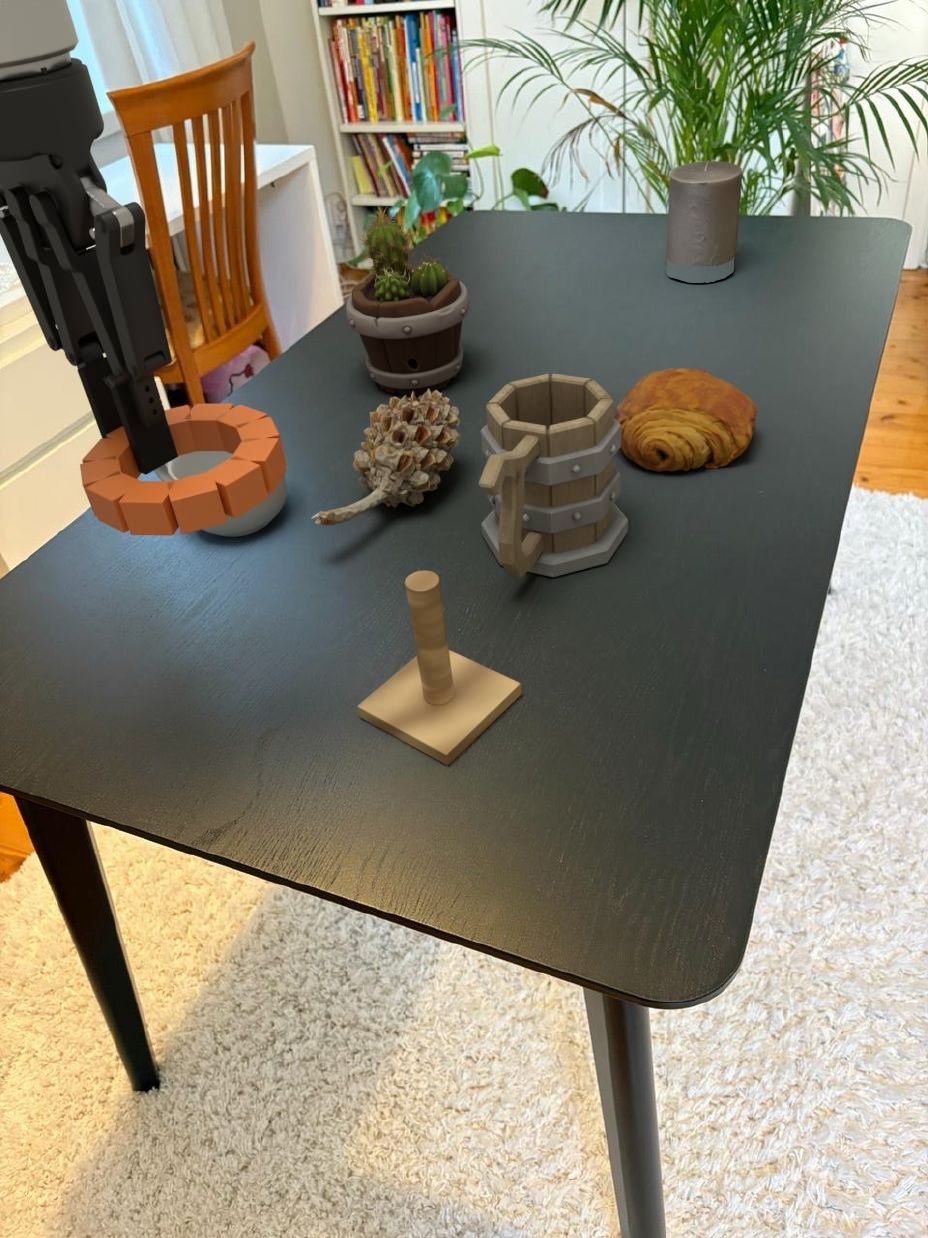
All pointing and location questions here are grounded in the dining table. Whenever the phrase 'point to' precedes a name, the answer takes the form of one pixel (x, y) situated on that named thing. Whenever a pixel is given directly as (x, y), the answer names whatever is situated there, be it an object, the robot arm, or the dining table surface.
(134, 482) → the ring
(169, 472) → the teacup
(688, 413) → the croissant
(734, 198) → the pillar candle
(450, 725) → the rack
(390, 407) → the pine cone
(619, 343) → the dining table surface
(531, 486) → the tankard
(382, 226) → the flowerpot
